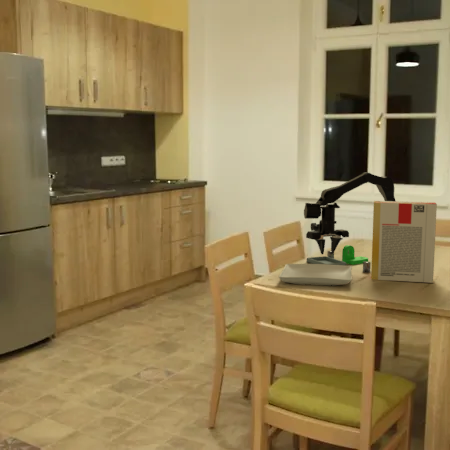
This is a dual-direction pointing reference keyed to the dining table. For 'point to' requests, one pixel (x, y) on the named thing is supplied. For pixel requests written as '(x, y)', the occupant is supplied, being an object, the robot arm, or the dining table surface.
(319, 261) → the parts tray
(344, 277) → the square plate
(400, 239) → the pasta box
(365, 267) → the spacer posts
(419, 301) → the dining table surface
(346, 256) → the mechanical part
